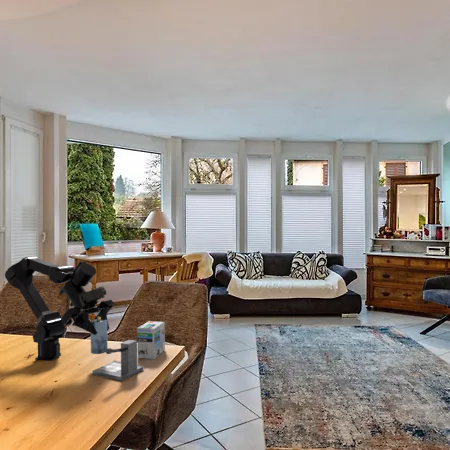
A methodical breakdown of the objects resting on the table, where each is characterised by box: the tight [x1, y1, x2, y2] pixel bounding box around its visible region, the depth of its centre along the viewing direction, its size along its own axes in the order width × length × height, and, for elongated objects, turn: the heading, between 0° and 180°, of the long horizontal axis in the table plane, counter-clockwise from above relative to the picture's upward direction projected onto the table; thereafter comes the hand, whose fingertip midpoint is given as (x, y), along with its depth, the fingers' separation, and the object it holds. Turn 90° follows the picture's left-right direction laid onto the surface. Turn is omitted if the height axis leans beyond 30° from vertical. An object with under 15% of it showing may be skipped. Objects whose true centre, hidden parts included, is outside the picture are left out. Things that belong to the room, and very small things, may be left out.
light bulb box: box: [136, 320, 166, 360], centre depth 141 cm, size 11×7×11 cm, turn 168°
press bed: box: [92, 339, 144, 382], centre depth 121 cm, size 12×14×11 cm
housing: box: [90, 317, 109, 355], centre depth 127 cm, size 5×5×11 cm
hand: (102, 331), depth 126 cm, fingers closed on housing, 5 cm apart
